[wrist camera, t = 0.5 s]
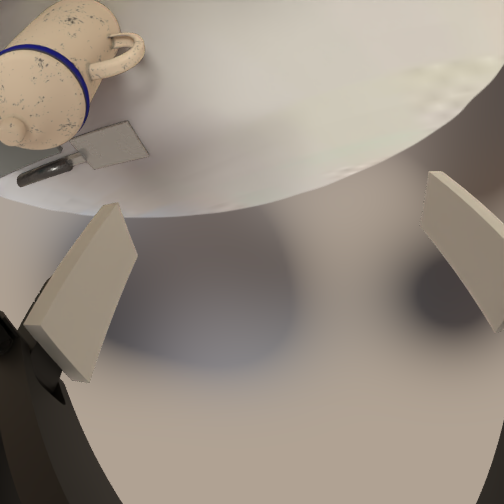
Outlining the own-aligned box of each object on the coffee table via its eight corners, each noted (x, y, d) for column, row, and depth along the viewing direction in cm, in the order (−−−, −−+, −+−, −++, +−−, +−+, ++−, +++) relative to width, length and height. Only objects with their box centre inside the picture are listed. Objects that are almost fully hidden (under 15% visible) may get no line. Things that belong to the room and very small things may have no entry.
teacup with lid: (49, 87, 19) (-1, 186, 15) (19, 15, 11) (-65, 109, 7) (165, 64, 20) (136, 168, 16) (154, -27, 12) (91, 38, 8)
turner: (35, 186, 34) (31, 196, 33) (10, 164, 28) (6, 175, 27) (149, 154, 32) (146, 166, 31) (127, 120, 26) (123, 132, 25)
